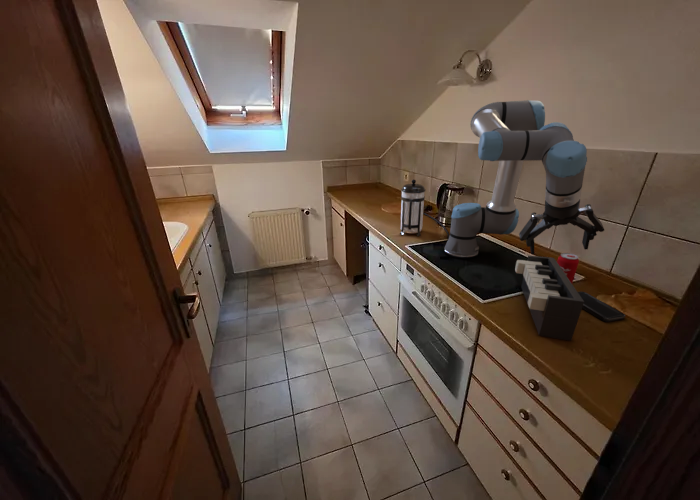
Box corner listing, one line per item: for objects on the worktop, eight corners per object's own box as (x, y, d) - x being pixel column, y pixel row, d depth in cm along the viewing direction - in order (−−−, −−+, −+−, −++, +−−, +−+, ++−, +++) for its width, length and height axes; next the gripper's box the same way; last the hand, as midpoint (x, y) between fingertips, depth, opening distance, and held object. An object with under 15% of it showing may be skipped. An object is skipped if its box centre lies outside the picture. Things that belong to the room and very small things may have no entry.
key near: (527, 303, 88) (530, 292, 86) (556, 307, 86) (560, 295, 84) (529, 309, 86) (532, 297, 84) (559, 313, 83) (563, 301, 82)
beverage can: (550, 279, 116) (558, 251, 111) (570, 282, 113) (578, 253, 108) (552, 286, 111) (560, 257, 106) (572, 290, 108) (581, 260, 103)
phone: (606, 319, 90) (564, 293, 104) (605, 322, 91) (563, 296, 104) (627, 315, 91) (583, 291, 105) (626, 318, 92) (582, 293, 105)
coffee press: (391, 231, 172) (392, 179, 161) (414, 227, 178) (417, 176, 167) (408, 240, 158) (411, 184, 146) (432, 235, 164) (437, 180, 152)
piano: (516, 286, 112) (523, 254, 107) (545, 290, 109) (554, 257, 104) (533, 334, 87) (543, 296, 81) (571, 341, 84) (584, 301, 79)
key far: (514, 269, 108) (517, 259, 107) (538, 272, 106) (540, 262, 104) (516, 273, 106) (518, 263, 104) (540, 275, 103) (542, 265, 102)
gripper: (510, 216, 81) (513, 262, 95) (629, 199, 70) (613, 253, 84) (506, 198, 85) (510, 244, 100) (618, 178, 74) (604, 233, 89)
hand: (557, 248), depth 92 cm, fingers open, 13 cm apart
